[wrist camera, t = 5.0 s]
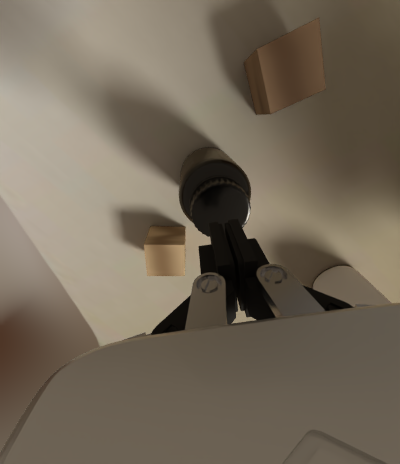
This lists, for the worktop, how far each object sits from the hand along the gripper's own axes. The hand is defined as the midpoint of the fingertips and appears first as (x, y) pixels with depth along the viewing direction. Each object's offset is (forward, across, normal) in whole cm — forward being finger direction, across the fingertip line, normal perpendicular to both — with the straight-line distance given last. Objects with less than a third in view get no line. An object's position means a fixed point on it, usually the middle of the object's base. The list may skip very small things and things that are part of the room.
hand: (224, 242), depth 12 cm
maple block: (+17, +7, +9) cm, 20 cm away
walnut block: (+16, -8, -9) cm, 21 cm away
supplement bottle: (+17, 0, 0) cm, 17 cm away
